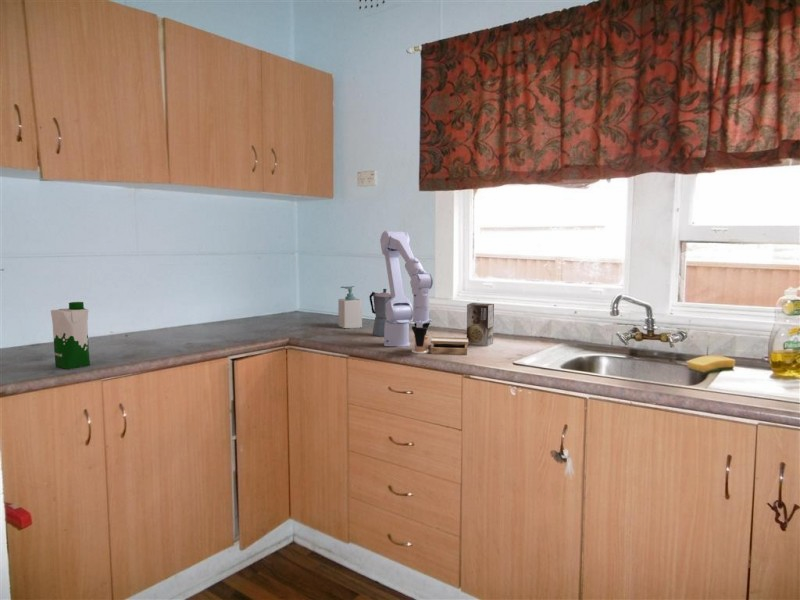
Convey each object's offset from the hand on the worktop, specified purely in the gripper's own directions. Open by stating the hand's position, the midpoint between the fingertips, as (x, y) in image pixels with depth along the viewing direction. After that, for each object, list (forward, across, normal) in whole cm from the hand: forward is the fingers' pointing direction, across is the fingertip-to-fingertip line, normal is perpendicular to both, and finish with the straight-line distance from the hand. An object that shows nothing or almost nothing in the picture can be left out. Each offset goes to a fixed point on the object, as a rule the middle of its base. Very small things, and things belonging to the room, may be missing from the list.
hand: (420, 344), depth 197 cm
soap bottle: (+3, +53, +37) cm, 65 cm away
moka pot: (+3, +34, +19) cm, 39 cm away
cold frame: (+3, +5, -10) cm, 12 cm away
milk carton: (+3, -38, +107) cm, 114 cm away
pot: (+2, 0, 0) cm, 2 cm away
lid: (0, +9, -10) cm, 14 cm away
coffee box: (+3, +19, -22) cm, 29 cm away
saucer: (+3, 0, 0) cm, 3 cm away
